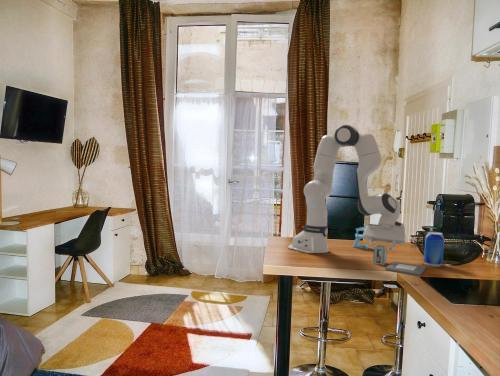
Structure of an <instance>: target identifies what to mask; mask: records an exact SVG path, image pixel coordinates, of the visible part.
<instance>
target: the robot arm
mask: <svg viewBox="0 0 500 376" xmlns="http://www.w3.org/2000/svg"><path fill="white" fill-rule="evenodd" d="M319 141H320V142H319V143H318V146H317V150H316V152H315V153H316V154H315V158H314V163H313V167H312V169H313V180H311V181H309V182H307V183H306V184H305V186H304V187H303V195H304V196H305V204H306V224H304V225H302V227H301V228H302V229H303V230H301V232H299V233H297V234H296V235H295V236H294V237H292V238H293V239H292V242H291V244H289V245H288V246H287V249H290V250H292V251H297V252H301V253H307V254H325V253H329V247H328V238H327V237H328V231H329V230H328V228H329V227H328V209H327V203H326V199H328V198H330V196H331V194H332V192H333V183H334V182H333V181H334V180H333V179H334V170H335V166H336V163H337V158H338V154H339V150H340V149H341V148H343V147H344V148H345V147H353V148H354V149H355V151H356V154H357V155H356V156H357V159H358V167H356V170H355V180H356V190H357V198H358V199H357V209H358V211H359V212H360V213H361V214H362V215H364V216H365V217H368V216H373V215H376V214H380V215H381V216H380V217H379V220H378V223H377V224H375V223H373V224H372V223H369V224H366V225H365V227H366V228H365V231H363V233H362V235H363V237H364V238H363V239H364V240H367V241H369V247H370V248H374V246H375V243H374V242H381V243H388V244H390V245H389V247H388V249H389V251H393V249H394V248H395V247H396V246H397V245H405V244H406V238H407V237H406V227H405V224H404V223H402V222H400V221H398V220H399V218H400V214H401V202H400V201H399V200H398V199H396V198H393V196H392V195H390V194H389V193H387V192H383V193H378V194H374V195H369V192H368V191H369V190H368V181H367V180H368V179H369V177H370V176H371V175H372V174H373V173H374V172H375V171H377V170H378V169H379V167H380V165H381V164H382V155H381V151H380V149H379V146H378V143H377V140H376V138H375V136H374V135H373V134H372V133H368V132H365V133H359V130H358V129H357V128H356V127H354V126H353V125H348V124H342V125H340V126H338V127H337V129H336V130H335V131H334V134H325V135H323V136H322V137H321V139H320V140H319ZM373 241H374V242H373Z"/></svg>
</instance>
